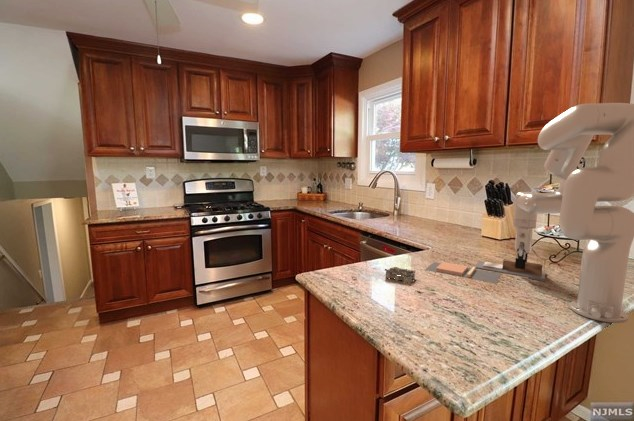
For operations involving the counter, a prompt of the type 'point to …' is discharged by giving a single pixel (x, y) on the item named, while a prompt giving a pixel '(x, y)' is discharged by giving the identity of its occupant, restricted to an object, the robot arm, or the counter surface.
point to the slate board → (512, 272)
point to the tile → (452, 268)
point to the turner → (510, 265)
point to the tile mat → (471, 273)
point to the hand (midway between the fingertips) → (521, 265)
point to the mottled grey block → (405, 274)
